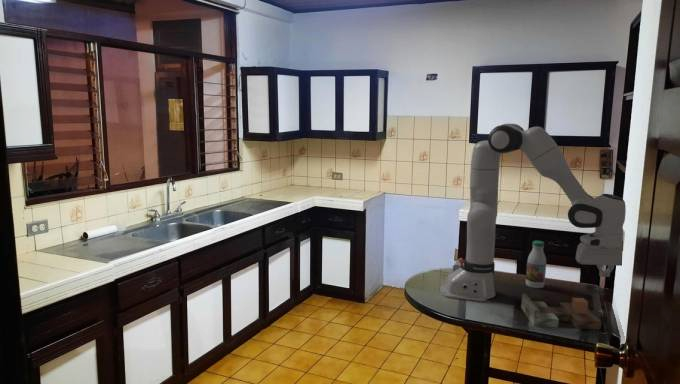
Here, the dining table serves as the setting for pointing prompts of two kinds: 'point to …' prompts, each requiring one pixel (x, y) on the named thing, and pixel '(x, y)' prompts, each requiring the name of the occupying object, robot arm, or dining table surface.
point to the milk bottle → (536, 266)
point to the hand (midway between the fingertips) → (604, 276)
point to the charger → (456, 265)
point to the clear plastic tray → (557, 315)
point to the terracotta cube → (579, 305)
